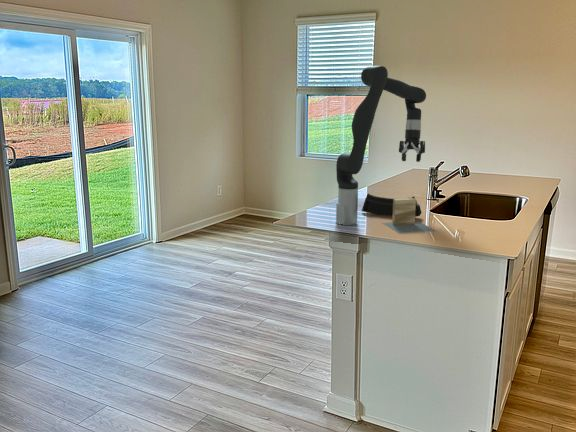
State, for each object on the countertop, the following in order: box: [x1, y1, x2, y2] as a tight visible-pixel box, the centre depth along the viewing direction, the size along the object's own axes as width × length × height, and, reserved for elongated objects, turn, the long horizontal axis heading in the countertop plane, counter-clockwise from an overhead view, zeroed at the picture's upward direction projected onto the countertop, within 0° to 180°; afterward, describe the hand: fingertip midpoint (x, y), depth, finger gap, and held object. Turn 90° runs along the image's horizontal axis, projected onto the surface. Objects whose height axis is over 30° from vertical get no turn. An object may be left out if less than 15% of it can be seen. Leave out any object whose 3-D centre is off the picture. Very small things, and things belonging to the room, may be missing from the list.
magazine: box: [361, 193, 422, 218], centre depth 259 cm, size 17×3×30 cm
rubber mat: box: [382, 220, 437, 234], centre depth 236 cm, size 20×18×1 cm
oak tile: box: [391, 197, 417, 225], centre depth 240 cm, size 3×10×12 cm, turn 102°
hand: (410, 161), depth 261 cm, fingers open, 8 cm apart
